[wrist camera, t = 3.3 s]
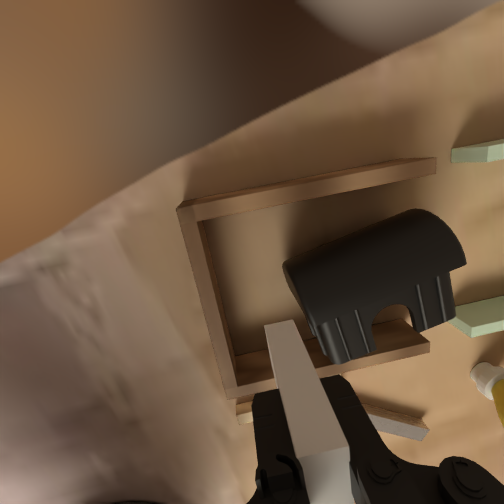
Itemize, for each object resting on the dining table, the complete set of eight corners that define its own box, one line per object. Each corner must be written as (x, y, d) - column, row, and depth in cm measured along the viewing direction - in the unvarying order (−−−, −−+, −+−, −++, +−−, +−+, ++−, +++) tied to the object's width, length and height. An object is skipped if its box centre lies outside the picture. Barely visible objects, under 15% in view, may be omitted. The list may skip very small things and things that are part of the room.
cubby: (226, 368, 24) (227, 399, 21) (183, 201, 20) (175, 208, 16) (402, 327, 25) (429, 352, 22) (401, 158, 21) (436, 157, 17)
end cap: (390, 200, 22) (463, 215, 15) (407, 276, 24) (476, 317, 17) (273, 249, 22) (295, 284, 15) (301, 320, 24) (330, 377, 18)
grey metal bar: (333, 406, 28) (339, 420, 26) (340, 394, 27) (347, 408, 26) (411, 427, 30) (421, 441, 28) (419, 416, 30) (429, 430, 28)
